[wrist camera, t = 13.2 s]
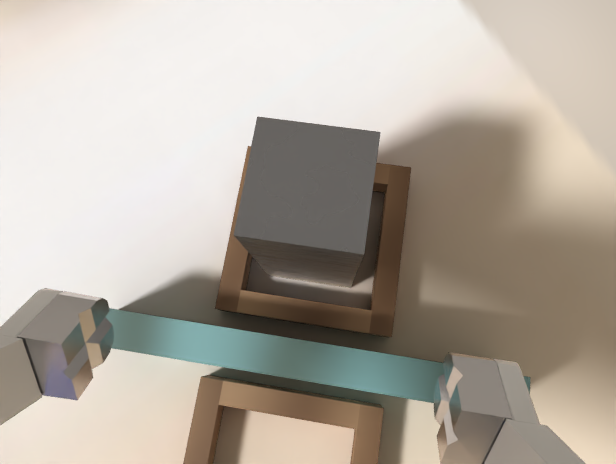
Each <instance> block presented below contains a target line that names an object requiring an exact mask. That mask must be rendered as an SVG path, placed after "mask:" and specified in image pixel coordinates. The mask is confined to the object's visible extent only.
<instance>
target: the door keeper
mask: <svg viewBox="0 0 616 464" xmlns="http://www.w3.org/2000/svg"><path fill="white" fill-rule="evenodd" d="M250 151H251V146H248V149H247V154H246V158H245V163H244V168H243V173H242V178H241V183H240V188H239V193H238V198H237V203H236V208H235V212H234V217H233V222H232V227H231V232H230V237H229V242H228V247H227V252H226V257H225V262H224V266H223V271H222V276H221V281H220V286H219V291H218V296H217V301H216V306H215V309H219V310H222V311H229V312H235V313H241V314H247V315H254V316H260V317H266V318H272V319H278V320H285V321H291V322H297V323H303V324H310V325H316V326H322V327H328V328H335V329H341V330H347V331H353V332H359V333H366V334H372V335H378V336H384V337H392V331H393V322H394V314H395V305H396V296H397V287H398V278H399V270H400V261H401V252H402V243H403V234H404V226H405V217H406V208H407V199H408V190H409V182H410V173H411V167H403V166H396V165H388V164H380V163H376V169H375V177H374V184H373V191H378V192H385V194H384V202H383V210H382V218H381V226H380V234H379V242H378V250H377V258H376V266H375V273H374V281H373V289H372V297H371V305H370V310H366V309H360V308H353V307H347V306H340V305H334V304H328V303H321V302H315V301H308V300H302V299H296V298H289V297H283V296H277V295H270V294H264V293H257V292H251V291H246V287H247V281H248V276H249V271H250V266H251V260H252V256H251V255H250V254H249V252H248V251H247V250H246V249H245V248H244V247H243V246H242V244H241V243H240V242H239V241H238V240H237V239H236V238H235V237H234V230H235V225H236V220H237V215H238V210H239V205H240V200H241V195H242V190H243V185H244V180H245V175H246V170H247V165H248V160H249V156H250ZM109 310H110V311H109V313H108V314H107V315H106V318H107V319H108V320H109V322H110V323H111V324H112V325H113V330H114V339H113V344H112V347H111V348H114V349H120V350H126V351H132V352H138V353H144V354H149V355H155V356H161V357H167V358H173V359H179V360H185V361H190V362H196V363H202V364H208V365H214V366H220V367H226V368H231V369H237V370H243V371H249V372H255V373H261V374H267V375H272V376H278V377H284V378H290V379H296V380H302V381H308V382H314V383H319V384H325V385H331V386H337V387H343V388H349V389H355V390H360V391H366V392H372V393H378V394H384V395H390V396H396V397H401V398H407V399H413V400H419V401H425V402H431V403H434V393H435V387H436V383H437V380H438V377H439V376H441V375H443V374H444V368H443V363H441V362H435V361H428V360H422V359H416V358H410V357H404V356H398V355H392V354H386V353H379V352H373V351H367V350H361V349H355V348H349V347H343V346H337V345H331V344H324V343H318V342H312V341H306V340H300V339H294V338H288V337H282V336H275V335H269V334H263V333H257V332H251V331H245V330H239V329H233V328H227V327H220V326H214V325H208V324H202V323H196V322H190V321H184V320H178V319H171V318H165V317H159V316H153V315H147V314H141V313H135V312H129V311H123V310H116V309H110V308H109ZM523 377H524V380H525V382H526V385H527V388H528V391H529V394H530V377H526V376H523ZM224 406H229V407H234V408H240V409H245V410H251V411H257V412H262V413H268V414H274V415H279V416H285V417H291V418H296V419H302V420H307V421H313V422H319V423H324V424H330V425H336V426H341V427H347V428H353V429H355V432H354V440H353V448H352V456H351V464H377V463H378V455H379V446H380V437H381V428H382V419H383V411H384V408H383V407H382V406H381V405H379V404H373V403H367V402H361V401H356V400H350V399H344V398H338V397H332V396H327V395H321V394H315V393H309V392H303V391H298V390H292V389H286V388H280V387H274V386H269V385H263V384H257V383H251V382H245V381H240V380H234V379H228V378H222V377H217V376H211V375H206V376H202V377H201V379H200V384H199V389H198V394H197V399H196V404H195V409H194V414H193V419H192V424H191V428H190V433H189V438H188V443H187V448H186V453H185V458H184V463H183V464H213V460H214V455H215V450H216V445H217V439H218V434H219V429H220V423H221V418H222V413H223V408H224Z"/></svg>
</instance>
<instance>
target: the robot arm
mask: <svg viewBox="0 0 616 464" xmlns="http://www.w3.org/2000/svg"><path fill="white" fill-rule="evenodd" d="M109 311H110V310H109V306H108V302H107V300H105V299H103V298H99V297H93V296H88V295H82V294H77V293H72V292H66V291H64V292H63V291H58V290H53V289H47V288H44V289H41V290H38V291H37V292H36V293H35V294H34V295H33V296H32V297H31V298H30V299H29V300H28V301H27V302H26V303H25V304H24V305H23V306H22V307H21V308H20V309H19V310H18V311H17V312H16V313H15V314H14V315H12V316H11V317H10V318H9V319H8V320H7V321H6V322H5V323H4V324H3V325H2V326H1V327H0V425H2V424H3V423H5V422H6V421H7V420H9V419H10V418H12V417H13V416H15V415H16V414H18V413H19V412H21V411H22V410H24V409H25V408H27V407H28V406H30V405H31V404H33V403H34V402H36V401H37V400H39V399H40V398H42V395H44V396H51V397H58V398H65V399H72V400H78V399H79V397H80V396H81V394H82V393H83V392H84V390H85V389H86V387H87V386H88V384H89V383H90V381H91V380H92V378H93V373H92V369H93V368H95V367H97V366H98V365H100V364H102V363H103V362H104V361H105V359H106V358H107V356H108V355H109V353H110V350H111V347H112V344H113V339H114V330H113V325H112V324H111V323H110V322H109V320H108V319H107V318H106V315H107V314H108V313H109ZM443 368H444V374H443V375H441V376H439V377H438V380H437V383H436V387H435V393H434V415H435V419H436V420H437V422H438V423H439V424H440V425H441V426H440V429H439V432H438V434H437V441H438V449H439V457H440V464H585V463H584V462H583V461H582V460H581V459H580V458H579V457H578V456H577V455H576V454H575V453H574V452H573V451H572V450H571V449H570V448H569V447H568V446H567V445H566V444H565V443H564V442H563V441H562V440H561V439H560V438H559V437H558V436H557V435H556V434H555V433H554V432H553V431H552V430H551V429H550V428H549V427H548V426H546V425H541V424H540V423H539V420H538V417H537V414H536V411H535V408H534V405H533V402H532V400H531V397H530V394H529V391H528V388H527V385H526V382H525V380H524V377H523V374H522V371H521V368H520V366H519V364H518V363H517V362H513V361H506V360H499V359H491V358H485V357H478V356H471V355H464V354H457V353H451V352H448V354H447V355H446V357H445V359H444V362H443Z"/></svg>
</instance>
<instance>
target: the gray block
mask: <svg viewBox="0 0 616 464" xmlns="http://www.w3.org/2000/svg"><path fill="white" fill-rule="evenodd" d="M379 139H380V132H375V131H367V130H359V129H351V128H343V127H335V126H327V125H319V124H312V123H304V122H296V121H288V120H280V119H272V118H264V117H257V121H256V126H255V131H254V136H253V141H252V146H251V151H250V156H249V160H248V165H247V170H246V175H245V180H244V185H243V190H242V195H241V200H240V205H239V210H238V215H237V220H236V225H235V230H234V237H235V238H236V239H237V240H238V241H239V242H240V243H241V244H242V246H243V247H244V248H245V249H246V250H247V251H248V252H249V254H250V255H251V256H252V257H253V258H254V259H255V260H256V262H257V263H258V264H259V265H260V266H261V267H262V268H263V270H264V271H265V272H266V273H267V274H268V275H269V276H276V277H282V278H289V279H295V280H302V281H308V282H315V283H322V284H328V285H335V286H341V287H348V288H351V286H352V283H353V281H354V278H355V276H356V273H357V271H358V268H359V266H360V263H361V261H362V259H363V256H364V252H365V244H366V237H367V229H368V222H369V214H370V207H371V199H372V192H373V184H374V177H375V169H376V161H377V154H378V146H379Z"/></svg>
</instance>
